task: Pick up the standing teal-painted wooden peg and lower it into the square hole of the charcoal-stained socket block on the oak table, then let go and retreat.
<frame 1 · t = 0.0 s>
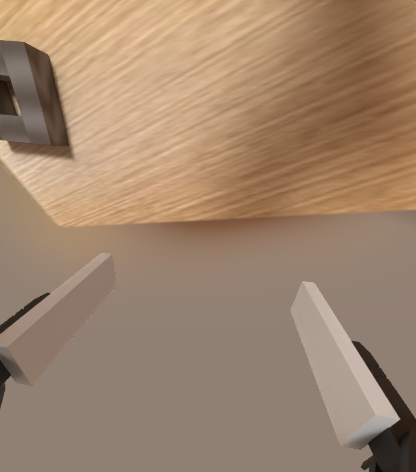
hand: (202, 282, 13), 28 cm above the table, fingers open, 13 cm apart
socket: (24, 101, 34), on the table
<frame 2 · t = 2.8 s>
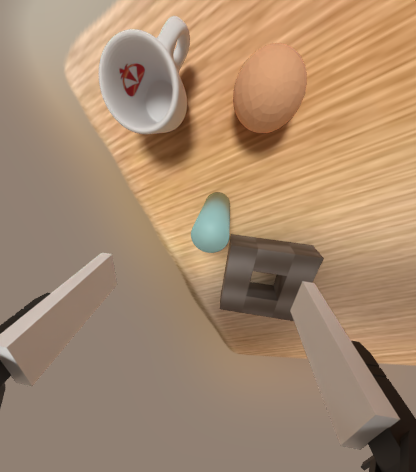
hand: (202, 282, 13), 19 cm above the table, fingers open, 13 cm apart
cup: (170, 94, 24), on the table
peg: (217, 204, 29), on the table
egg: (261, 102, 23), on the table
socket: (262, 272, 34), on the table
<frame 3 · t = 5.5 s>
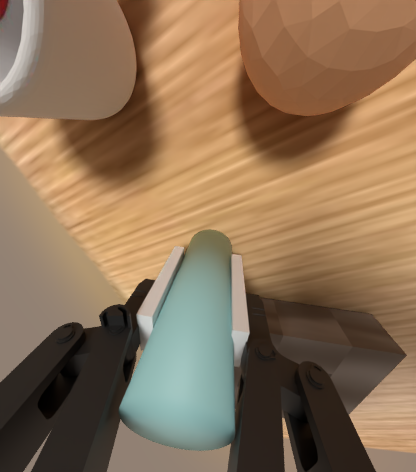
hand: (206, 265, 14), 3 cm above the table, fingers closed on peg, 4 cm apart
cup: (104, 39, 11), on the table
peg: (210, 249, 17), on the table, touching gripper
egg: (298, 52, 11), on the table
socket: (282, 345, 22), on the table
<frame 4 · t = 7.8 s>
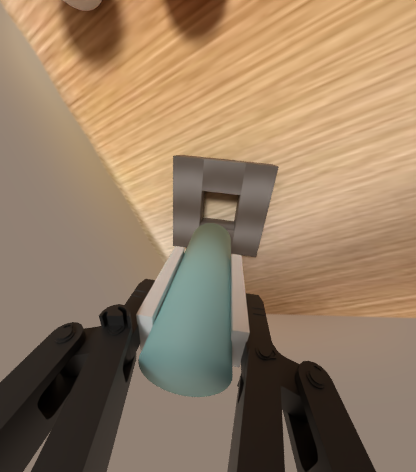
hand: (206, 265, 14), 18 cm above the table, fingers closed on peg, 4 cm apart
peg: (211, 241, 18), point 14 cm above the table, touching gripper
socket: (220, 204, 30), on the table
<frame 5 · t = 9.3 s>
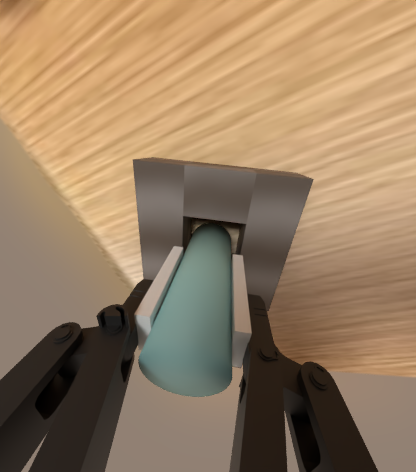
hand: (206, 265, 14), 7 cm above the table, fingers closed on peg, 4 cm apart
peg: (211, 241, 18), point 3 cm above the table, touching gripper
socket: (214, 230, 20), on the table
when the fingers open (5 cm above the table, at t = 10.2 s): peg stays where it is, resting in socket.
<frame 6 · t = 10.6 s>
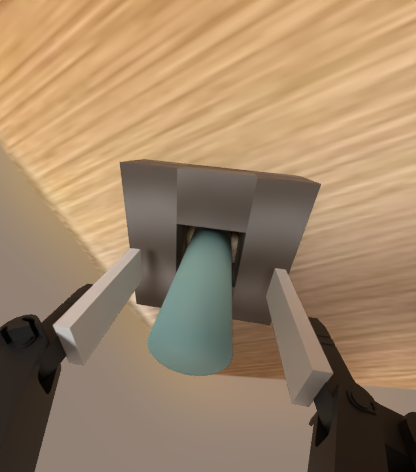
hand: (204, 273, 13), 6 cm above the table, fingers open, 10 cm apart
peg: (212, 237, 19), resting in socket
socket: (212, 237, 19), on the table
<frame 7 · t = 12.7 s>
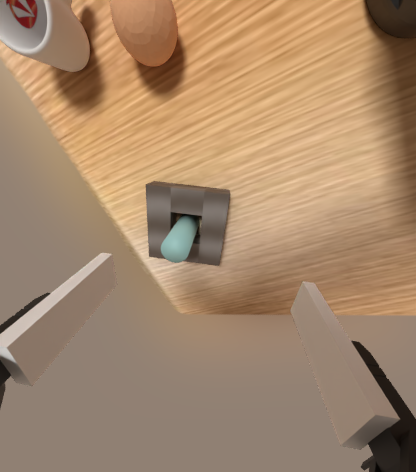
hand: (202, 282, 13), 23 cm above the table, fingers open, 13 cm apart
cup: (75, 35, 26), on the table
peg: (189, 221, 36), resting in socket
egg: (157, 43, 25), on the table
socket: (189, 221, 36), on the table
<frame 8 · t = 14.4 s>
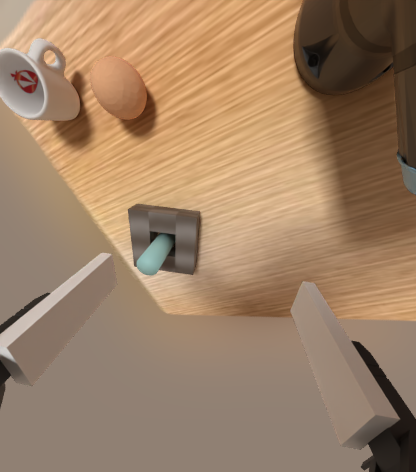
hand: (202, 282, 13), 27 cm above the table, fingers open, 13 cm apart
cup: (68, 92, 32), on the table
peg: (168, 236, 42), resting in socket
egg: (134, 97, 31), on the table
socket: (168, 236, 42), on the table
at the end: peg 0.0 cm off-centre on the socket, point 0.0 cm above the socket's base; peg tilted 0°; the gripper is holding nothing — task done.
